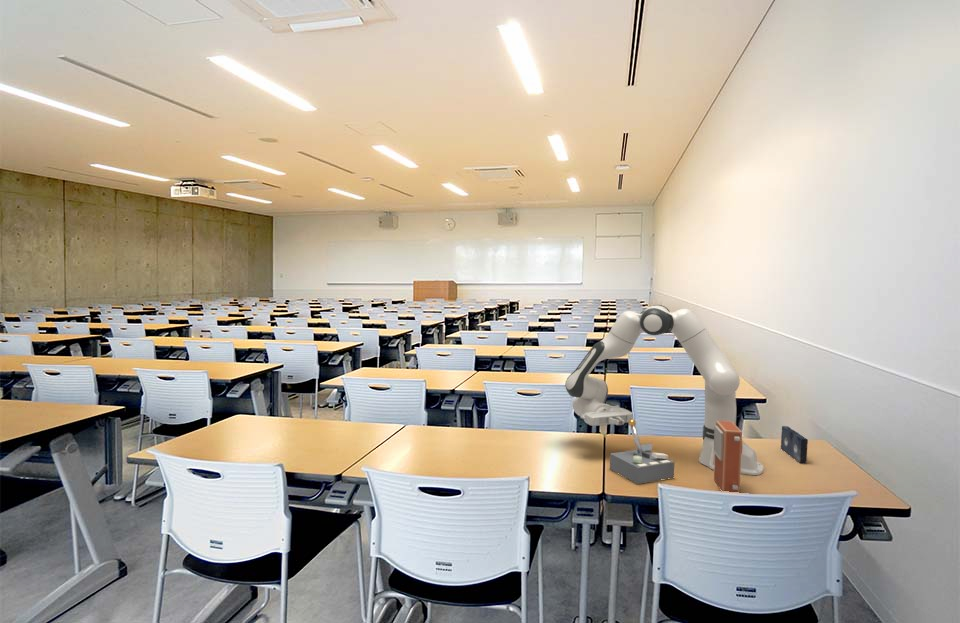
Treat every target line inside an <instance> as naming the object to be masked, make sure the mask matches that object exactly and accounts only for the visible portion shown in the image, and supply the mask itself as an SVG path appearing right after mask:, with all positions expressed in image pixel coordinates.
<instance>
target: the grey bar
mask: <svg viewBox="0 0 960 623" xmlns="http://www.w3.org/2000/svg"><path fill="white" fill-rule="evenodd" d="M641 447H642V451H647V450H649V451H652V450H653V449H654V448H653V445H652V443H646V444H641Z"/></svg>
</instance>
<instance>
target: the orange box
mask: <svg viewBox="0 0 960 623" xmlns="http://www.w3.org/2000/svg"><path fill="white" fill-rule="evenodd" d="M714 427H715V429H714V450H713V451H714V453H715V467H714V470H713V471H714V472H713V480H714V481H715V482H714V483H716V485H717V486H719V487H720V488H719V487H718V488H719V490H720V489H721V490H722V491H729V492H740V491H741V473H740V471H741V454H742V441H743V431H742V430H741V429H740V428H739V427H738V426H737V424H736V425H735V424H734V423H733V422H730V421H716V426H714ZM721 490H720V491H721ZM722 491H721V492H722Z"/></svg>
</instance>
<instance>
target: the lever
mask: <svg viewBox="0 0 960 623" xmlns="http://www.w3.org/2000/svg"><path fill="white" fill-rule="evenodd" d="M636 424H637V421H636V420H635V419H633V420H629V422H628V425H629V426H630V430H631V433H632V437H633V441H634V443H635V447H636V450H637V451H638V454H642V453H643V451H642V447H641V445H642V444H641V441H640V436H639V433H638V430H637V426H636Z"/></svg>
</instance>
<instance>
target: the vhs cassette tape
mask: <svg viewBox="0 0 960 623" xmlns="http://www.w3.org/2000/svg"><path fill="white" fill-rule="evenodd" d="M780 438H781V439H780V443H781V444H780V450H781V449H782V451H783V452H784V451H785V452H786V453H785V452H784V453H785V454H786V455H788V456H789V455H790V456H789V457H791V459H793V460H794V459H795V461H796V462H797V463H799V464H800V465H806V464H807V459H808V458H807V457H808V445H809V444H808V442H809V441H808V440H809V439H808V438H806V437H804V436H803V435H801V434H800V433H799V432H797V431H795V430H794V429H792V428H791V427H790V426H789V425H788V426H787V425H781V437H780Z"/></svg>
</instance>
